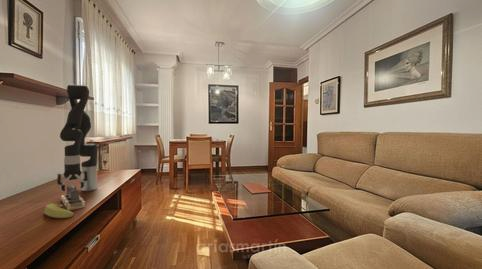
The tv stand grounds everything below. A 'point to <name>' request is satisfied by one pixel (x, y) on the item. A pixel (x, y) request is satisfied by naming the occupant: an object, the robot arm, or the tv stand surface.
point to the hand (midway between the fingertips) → (73, 189)
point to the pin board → (72, 200)
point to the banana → (57, 211)
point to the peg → (72, 188)
